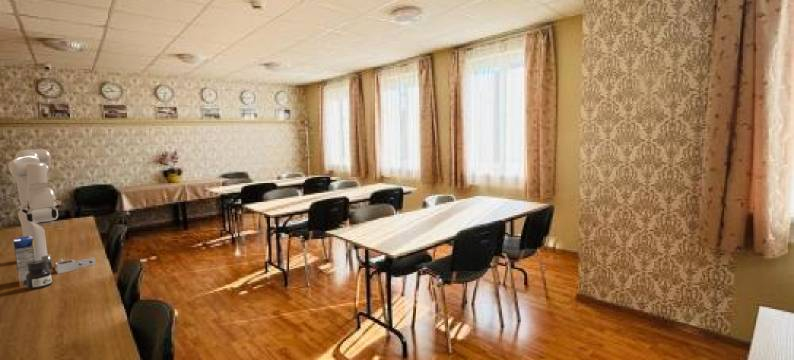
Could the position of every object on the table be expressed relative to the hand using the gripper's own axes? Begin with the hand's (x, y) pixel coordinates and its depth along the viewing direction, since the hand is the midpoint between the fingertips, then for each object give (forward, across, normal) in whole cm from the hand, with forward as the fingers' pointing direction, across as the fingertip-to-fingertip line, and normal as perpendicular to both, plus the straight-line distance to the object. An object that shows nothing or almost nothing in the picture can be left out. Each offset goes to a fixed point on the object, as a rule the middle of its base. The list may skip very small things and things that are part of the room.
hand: (42, 219), depth 205 cm
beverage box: (+29, +10, +4) cm, 31 cm away
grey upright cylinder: (+29, -4, -13) cm, 32 cm away
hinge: (+29, -12, -2) cm, 32 cm away
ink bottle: (+30, +10, +19) cm, 36 cm away
